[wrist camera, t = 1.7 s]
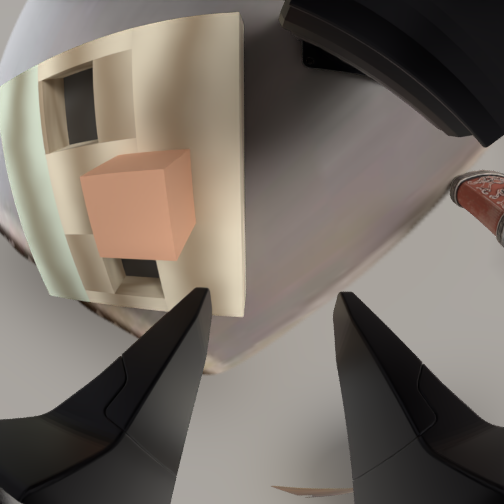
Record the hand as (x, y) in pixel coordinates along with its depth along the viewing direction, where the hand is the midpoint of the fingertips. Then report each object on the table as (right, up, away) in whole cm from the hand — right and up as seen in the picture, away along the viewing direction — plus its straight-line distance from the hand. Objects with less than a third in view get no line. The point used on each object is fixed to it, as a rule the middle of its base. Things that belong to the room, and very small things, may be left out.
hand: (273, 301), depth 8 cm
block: (-7, +6, +9) cm, 12 cm away
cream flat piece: (-12, +7, +12) cm, 18 cm away
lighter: (+20, +7, +10) cm, 23 cm away
